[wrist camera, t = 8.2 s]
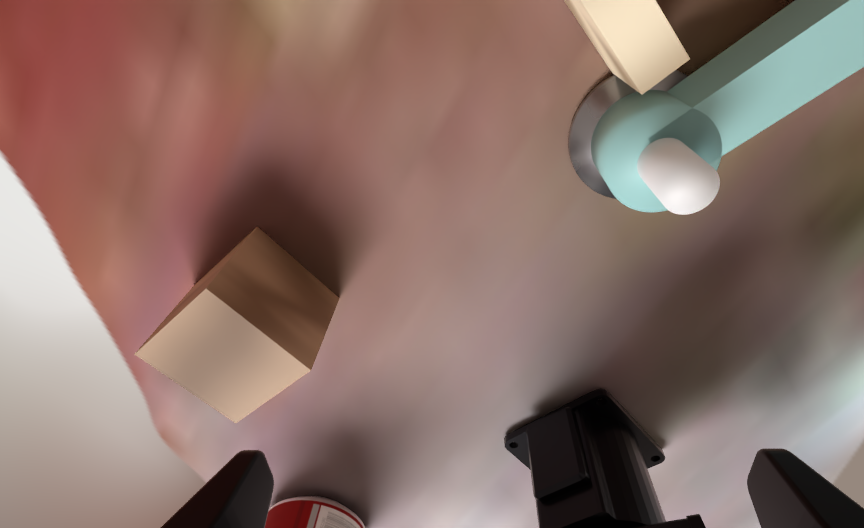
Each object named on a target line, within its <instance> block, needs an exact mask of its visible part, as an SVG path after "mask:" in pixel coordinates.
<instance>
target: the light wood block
mask: <svg viewBox="0 0 864 528" xmlns="http://www.w3.org/2000/svg"><path fill="white" fill-rule="evenodd" d="M338 300H339V297H337V296H336V295H335V294H334V293H333V292H332V291H331V290H329V289H328V288H327V287H326V286H325V285H324V284H323V283H321V282H320V281H319V280H318V279H317V278H316V277H315V276H313V275H312V274H311V273H310V272H309V271H308V270H307V269H305V268H304V267H303V266H302V265H301V264H300V263H299V262H297V261H296V260H295V259H294V258H293V257H292V256H291V255H289V254H288V253H287V252H286V251H285V250H284V249H283V248H281V247H280V246H279V245H278V244H277V243H276V242H275V241H273V240H272V239H271V238H270V237H269V236H268V235H267V234H265V233H264V232H263V231H262V230H261V229H260V228H259V227H256V228H255V229H254V230H253V231H252V232H250V233H249V234H248V235H247V236H246V237H245V238H244V239H243V240H242V241H241V242H240V243H239V244H238V245H237V246H236V247H235V248H233V249H232V250H231V251H230V252H229V253H228V254H227V255H226V256H225V257H224V258H223V259H222V260H221V261H220V262H219V263H218V264H216V265H215V266H214V267H213V268H212V269H211V270H210V271H209V272H208V273H207V274H206V275H205V276H204V277H203V278H202V279H201V280H199V281H198V282H197V283H196V284H195V285H194V286H193V287H192V289H191V290H190V291H189V292H188V293H187V294H186V295H185V297H184V298H183V299H182V300H181V301H180V302H179V304H178V305H177V306H176V307H175V308H174V309H173V310H172V312H171V313H170V314H169V315H168V316H167V317H166V319H165V320H164V321H163V322H162V323H161V324H160V325H159V327H158V328H157V329H156V330H155V331H154V332H153V334H152V335H151V336H150V337H149V338H148V339H147V340H146V342H145V343H144V344H143V345H142V346H141V347H140V349H139V350H138V351H137V352H136V353H135V355H136V356H138V357H139V358H141V359H142V360H143V361H145V362H146V363H148V364H149V365H151V366H152V367H154V368H155V369H157V370H158V371H160V372H161V373H162V374H164V375H165V376H167V377H168V378H170V379H171V380H173V381H174V382H176V383H177V384H179V385H180V386H182V387H183V388H184V389H186V390H187V391H189V392H190V393H192V394H193V395H195V396H196V397H198V398H199V399H201V400H202V401H204V402H205V403H206V404H208V405H209V406H211V407H212V408H214V409H215V410H217V411H218V412H220V413H221V414H223V415H224V416H225V417H227V418H228V419H230V420H231V421H233V422H234V423H237V422H238V421H240V420H241V419H243V418H244V417H246V416H247V415H248V414H250V413H251V412H253V411H254V410H255V409H257V408H258V407H260V406H261V405H263V404H264V403H265V402H267V401H268V400H270V399H271V398H272V397H274V396H275V395H277V394H278V393H280V392H281V391H282V390H284V389H285V388H287V387H288V386H289V385H291V384H292V383H294V382H295V381H297V380H298V379H299V378H301V377H302V376H304V375H305V374H306V373H308V372H309V371H311V369H312V366H313V364H314V361H315V359H316V356H317V354H318V351H319V349H320V346H321V343H322V341H323V338H324V336H325V333H326V331H327V328H328V326H329V323H330V321H331V318H332V316H333V313H334V311H335V308H336V305H337V303H338Z"/></svg>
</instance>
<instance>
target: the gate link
mask: <svg viewBox="0 0 864 528" xmlns="http://www.w3.org/2000/svg"><path fill="white" fill-rule="evenodd" d="M863 67H864V0H795V1H793V2H792V3H790V4H789V5H788V6H786V7H785V8H783V9H782V10H781V11H779V12H778V13H776V14H775V15H774V16H772V17H771V18H769V19H768V20H767V21H765V22H764V23H762V24H761V25H760V26H758V27H757V28H755V29H754V30H753V31H751V32H750V33H748V34H747V35H745V36H744V37H743V38H741V39H740V40H738V41H737V42H736V43H734V44H733V45H731V46H730V47H729V48H727V49H726V50H724V51H723V52H722V53H720V54H719V55H717V56H716V57H715V58H713V59H712V60H710V61H709V62H708V63H706V64H705V65H703V66H702V67H701V68H699V69H698V70H696V71H695V72H694V73H692V74H691V75H689V76H688V77H687V78H685V79H684V80H682V81H681V82H680V83H678V84H677V85H675V86H674V87H673V88H671V89H670V90H668V91H667V92H666V91H661V90H648V91H647V92H645V93H644V94H640V93H639V92H635V93H632V94H629V95H627V96H625V97H623V98H621V99H620V100H618V101H617V102H615V103H614V104H613V105H612V106H610V107H609V108H608V110H607V111H606V112H605V113H604V114H603V115H602V117H601V118H600V120H599V121H598V123H597V125H596V127H595V129H594V132H593V135H592V140H591V155H592V159H593V162H594V165H595V167H596V168H597V170H598V171H599V173H600V175H601V176H602V178H603V179H604V181H605V182H606V184H607V186H608V187H609V189H610V190H611V192H612V193H613V195H614V196H615V197H616V198H617V199H618V200H619V201H620V202H621V203H622V204H624V205H625V206H627V207H629V208H631V209H634V210H638V211H642V212H661V211H667V210H669V211H670V212H672V213H675V214H680V215H686V214H692V213H695V212H698V211H700V210H702V209H704V208H705V207H706V206H708V205H709V204H710V203H711V202H712V201H713V199H714V198H715V197H716V195H717V193H718V190H719V187H720V178H719V175H718V173H717V169H718V166H719V163H720V160H721V156H723V155H725V154H726V153H728V152H729V151H731V150H733V149H734V148H736V147H737V146H739V145H740V144H742V143H744V142H745V141H747V140H748V139H750V138H752V137H753V136H755V135H756V134H758V133H759V132H761V131H763V130H764V129H766V128H767V127H769V126H771V125H772V124H774V123H775V122H777V121H779V120H780V119H782V118H783V117H785V116H786V115H788V114H790V113H791V112H793V111H794V110H796V109H798V108H799V107H801V106H802V105H804V104H806V103H807V102H809V101H810V100H812V99H813V98H815V97H817V96H818V95H820V94H821V93H823V92H825V91H826V90H828V89H829V88H831V87H832V86H834V85H836V84H837V83H839V82H840V81H842V80H844V79H845V78H847V77H848V76H850V75H852V74H853V73H855V72H856V71H858V70H859V69H861V68H863Z"/></svg>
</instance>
